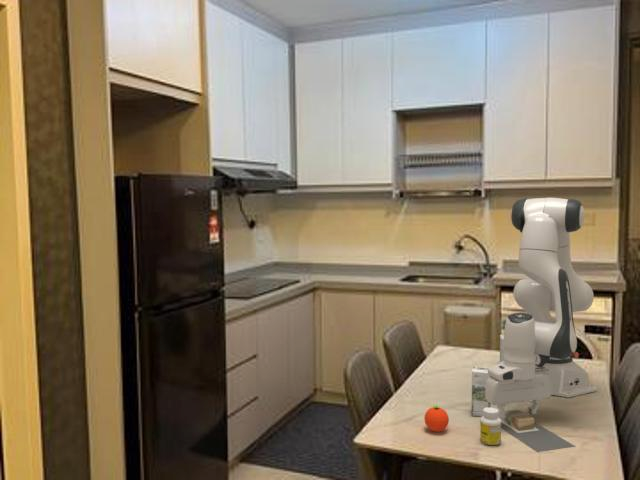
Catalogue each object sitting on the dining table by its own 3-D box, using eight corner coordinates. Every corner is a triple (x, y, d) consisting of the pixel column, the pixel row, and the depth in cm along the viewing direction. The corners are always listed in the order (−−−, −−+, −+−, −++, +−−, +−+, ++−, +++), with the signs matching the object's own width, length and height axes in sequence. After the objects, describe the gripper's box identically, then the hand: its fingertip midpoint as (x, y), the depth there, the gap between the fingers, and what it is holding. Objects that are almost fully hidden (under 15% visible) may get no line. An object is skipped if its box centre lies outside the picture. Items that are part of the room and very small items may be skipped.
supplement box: (518, 366, 230) (519, 335, 229) (520, 371, 223) (521, 339, 222) (499, 365, 232) (499, 334, 231) (500, 370, 225) (501, 338, 224)
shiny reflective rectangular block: (534, 429, 166) (534, 418, 165) (519, 431, 164) (519, 420, 164) (517, 418, 173) (517, 409, 173) (503, 420, 172) (503, 410, 172)
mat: (525, 418, 175) (525, 416, 175) (575, 448, 154) (575, 446, 154) (490, 423, 172) (490, 420, 172) (537, 454, 151) (537, 451, 151)
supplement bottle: (477, 441, 159) (477, 406, 159) (496, 440, 160) (496, 405, 159) (484, 449, 154) (484, 413, 153) (504, 448, 154) (504, 413, 154)
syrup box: (491, 412, 181) (491, 366, 180) (490, 418, 175) (490, 372, 174) (472, 410, 183) (472, 365, 182) (470, 416, 177) (471, 370, 176)
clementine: (422, 424, 171) (422, 401, 171) (445, 424, 171) (445, 401, 171) (426, 435, 163) (426, 411, 163) (450, 435, 163) (451, 411, 163)
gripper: (542, 363, 173) (541, 408, 174) (482, 369, 168) (482, 415, 169) (556, 369, 167) (555, 415, 168) (494, 375, 162) (494, 423, 163)
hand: (518, 415), depth 169 cm, fingers open, 8 cm apart
